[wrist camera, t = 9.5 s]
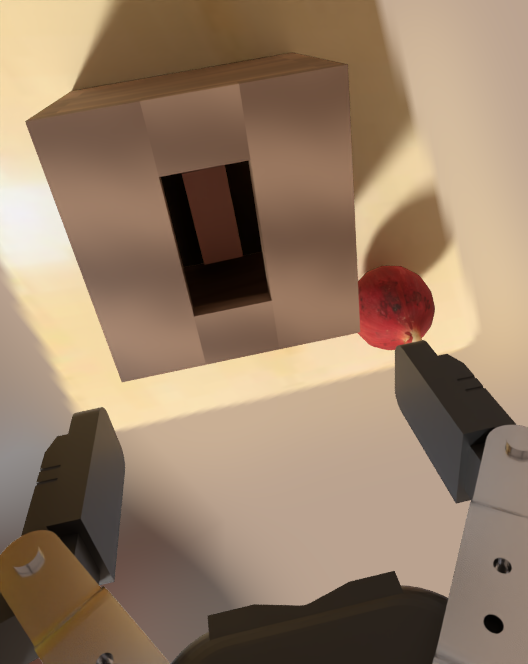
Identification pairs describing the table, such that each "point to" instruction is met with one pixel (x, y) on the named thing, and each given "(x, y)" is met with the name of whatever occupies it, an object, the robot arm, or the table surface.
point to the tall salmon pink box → (213, 213)
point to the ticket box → (155, 221)
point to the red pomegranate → (394, 307)
